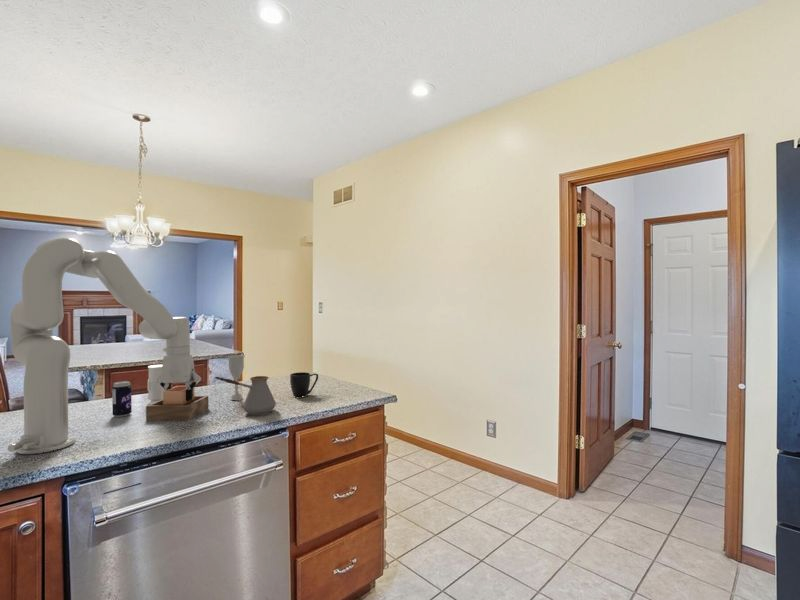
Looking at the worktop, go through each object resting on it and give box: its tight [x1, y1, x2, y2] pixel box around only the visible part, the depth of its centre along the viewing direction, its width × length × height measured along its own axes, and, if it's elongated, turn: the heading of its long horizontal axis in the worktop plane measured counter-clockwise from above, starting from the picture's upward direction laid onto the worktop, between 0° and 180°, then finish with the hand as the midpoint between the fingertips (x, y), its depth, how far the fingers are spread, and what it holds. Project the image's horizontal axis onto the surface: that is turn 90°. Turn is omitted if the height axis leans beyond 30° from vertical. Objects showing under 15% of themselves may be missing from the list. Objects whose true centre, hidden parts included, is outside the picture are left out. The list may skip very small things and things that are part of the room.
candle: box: [147, 364, 165, 405], centre depth 165 cm, size 7×7×15 cm
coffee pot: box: [212, 375, 277, 416], centre depth 146 cm, size 21×12×15 cm, turn 126°
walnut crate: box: [145, 395, 209, 421], centre depth 148 cm, size 15×15×5 cm
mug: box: [289, 371, 319, 398], centre depth 175 cm, size 8×12×10 cm
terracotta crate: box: [163, 385, 196, 405], centre depth 148 cm, size 9×6×5 cm
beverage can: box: [111, 380, 133, 418], centre depth 147 cm, size 6×6×12 cm
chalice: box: [227, 354, 246, 401], centre depth 169 cm, size 7×7×18 cm
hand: (179, 399), depth 148 cm, fingers closed on terracotta crate, 6 cm apart
